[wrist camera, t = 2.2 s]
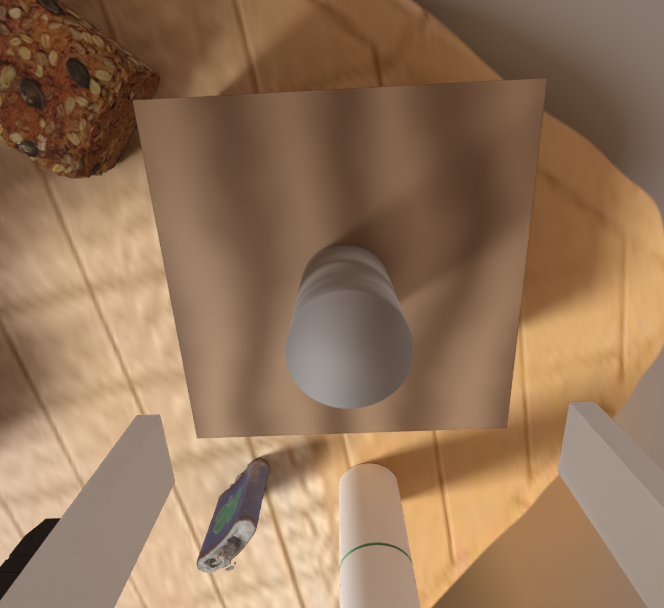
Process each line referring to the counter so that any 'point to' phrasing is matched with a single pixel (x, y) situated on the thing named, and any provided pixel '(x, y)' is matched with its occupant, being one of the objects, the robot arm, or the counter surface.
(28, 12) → the bread
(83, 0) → the counter surface
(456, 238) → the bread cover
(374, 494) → the cylindrical container
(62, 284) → the counter surface
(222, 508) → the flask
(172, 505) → the counter surface
